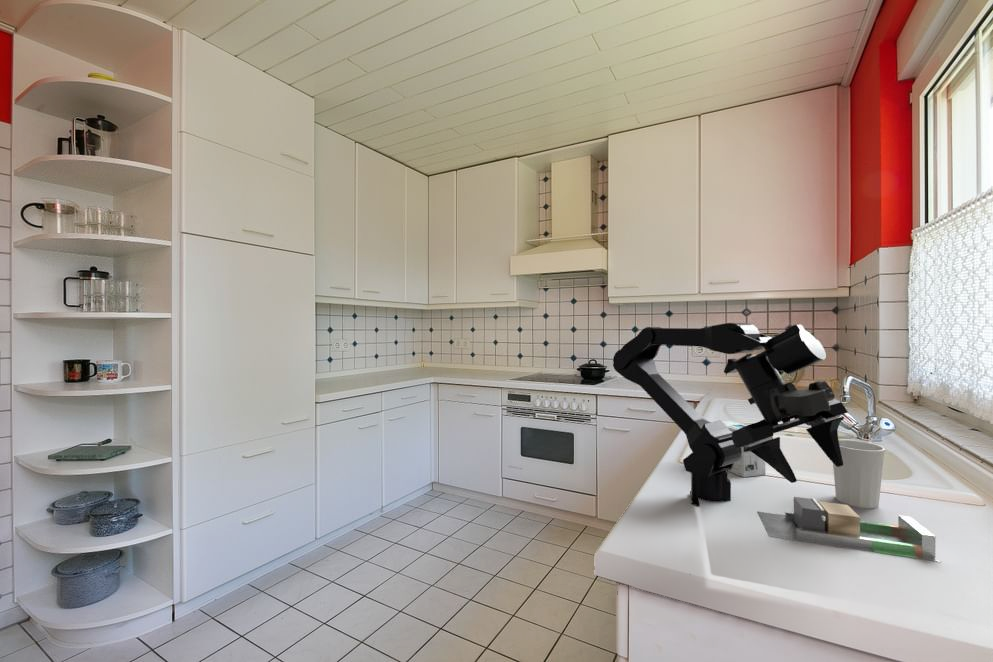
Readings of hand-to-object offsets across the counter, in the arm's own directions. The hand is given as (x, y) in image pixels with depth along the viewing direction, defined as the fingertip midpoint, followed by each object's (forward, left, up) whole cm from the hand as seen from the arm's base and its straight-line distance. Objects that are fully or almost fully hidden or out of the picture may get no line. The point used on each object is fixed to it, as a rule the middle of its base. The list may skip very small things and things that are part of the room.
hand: (817, 474), depth 71 cm
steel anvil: (+13, +1, -9) cm, 16 cm away
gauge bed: (+3, +1, -11) cm, 11 cm away
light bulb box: (-7, +35, -11) cm, 37 cm away
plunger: (-1, 0, -9) cm, 9 cm away
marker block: (+3, +1, -9) cm, 10 cm away
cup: (+11, +18, -11) cm, 23 cm away
